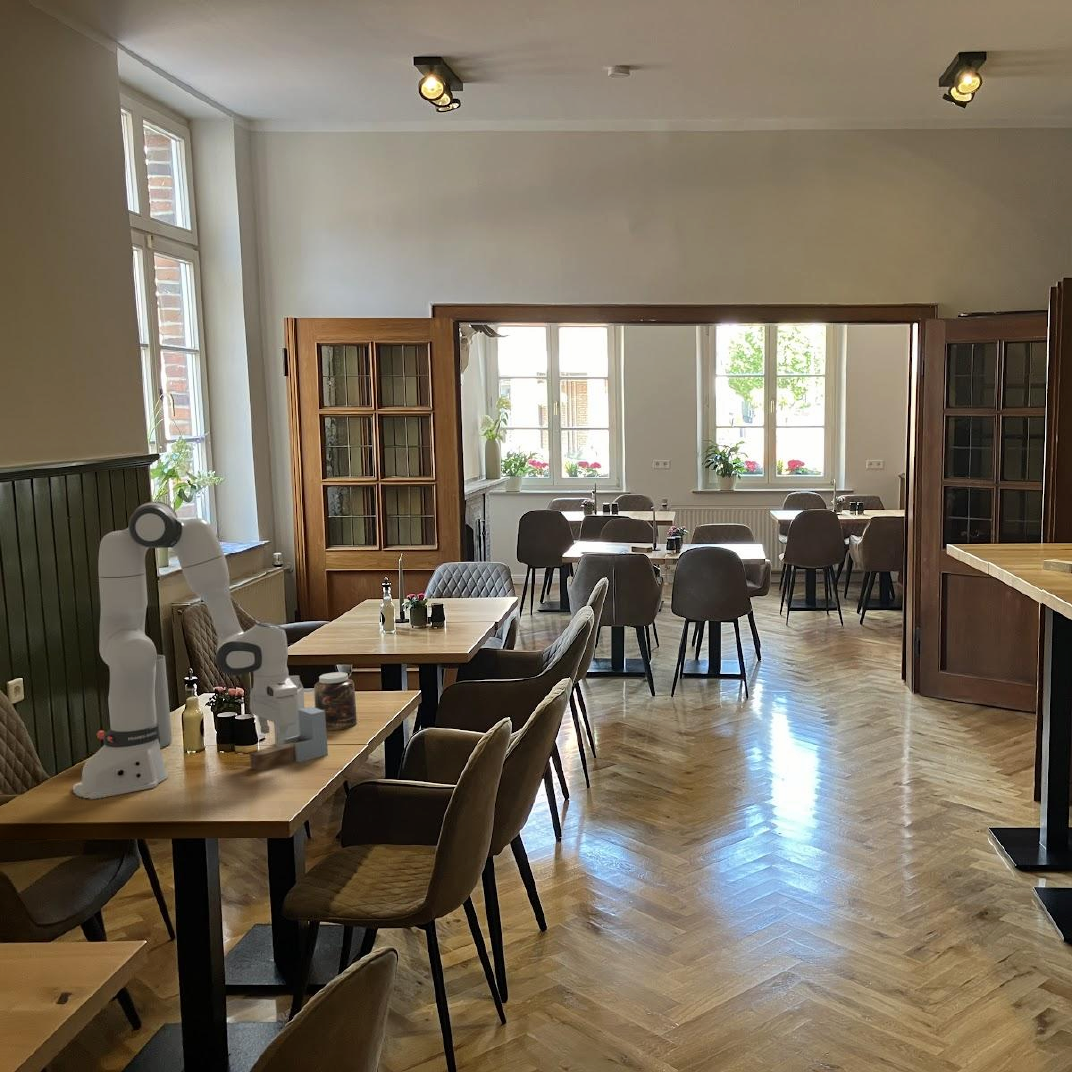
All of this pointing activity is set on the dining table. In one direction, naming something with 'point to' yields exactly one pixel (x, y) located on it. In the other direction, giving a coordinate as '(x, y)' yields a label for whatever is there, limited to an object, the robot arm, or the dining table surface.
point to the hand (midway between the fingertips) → (273, 736)
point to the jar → (336, 700)
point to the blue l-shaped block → (310, 735)
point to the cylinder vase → (162, 702)
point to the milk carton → (294, 729)
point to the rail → (274, 756)
